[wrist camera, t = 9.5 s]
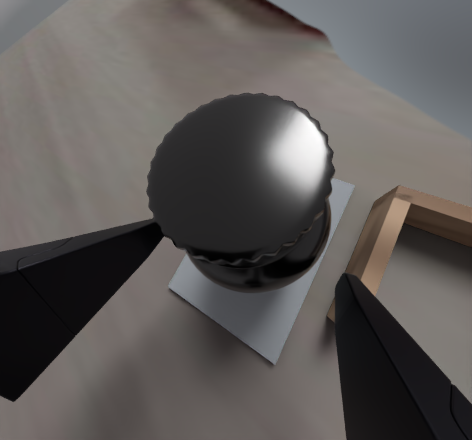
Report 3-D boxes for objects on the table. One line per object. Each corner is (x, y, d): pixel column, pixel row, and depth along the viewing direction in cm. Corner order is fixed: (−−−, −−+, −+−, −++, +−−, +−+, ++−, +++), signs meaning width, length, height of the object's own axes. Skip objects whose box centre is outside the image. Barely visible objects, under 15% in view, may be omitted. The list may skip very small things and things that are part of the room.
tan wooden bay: (518, 426, 10) (615, 488, 7) (326, 315, 13) (341, 328, 11) (556, 263, 11) (649, 262, 9) (375, 200, 15) (398, 185, 12)
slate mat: (275, 361, 13) (275, 365, 13) (170, 285, 17) (167, 286, 16) (352, 187, 15) (355, 185, 15) (246, 152, 19) (245, 149, 18)
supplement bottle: (294, 290, 14) (388, 391, 3) (217, 270, 16) (66, 276, 4) (306, 210, 15) (396, 50, 4) (234, 200, 17) (155, 69, 6)
